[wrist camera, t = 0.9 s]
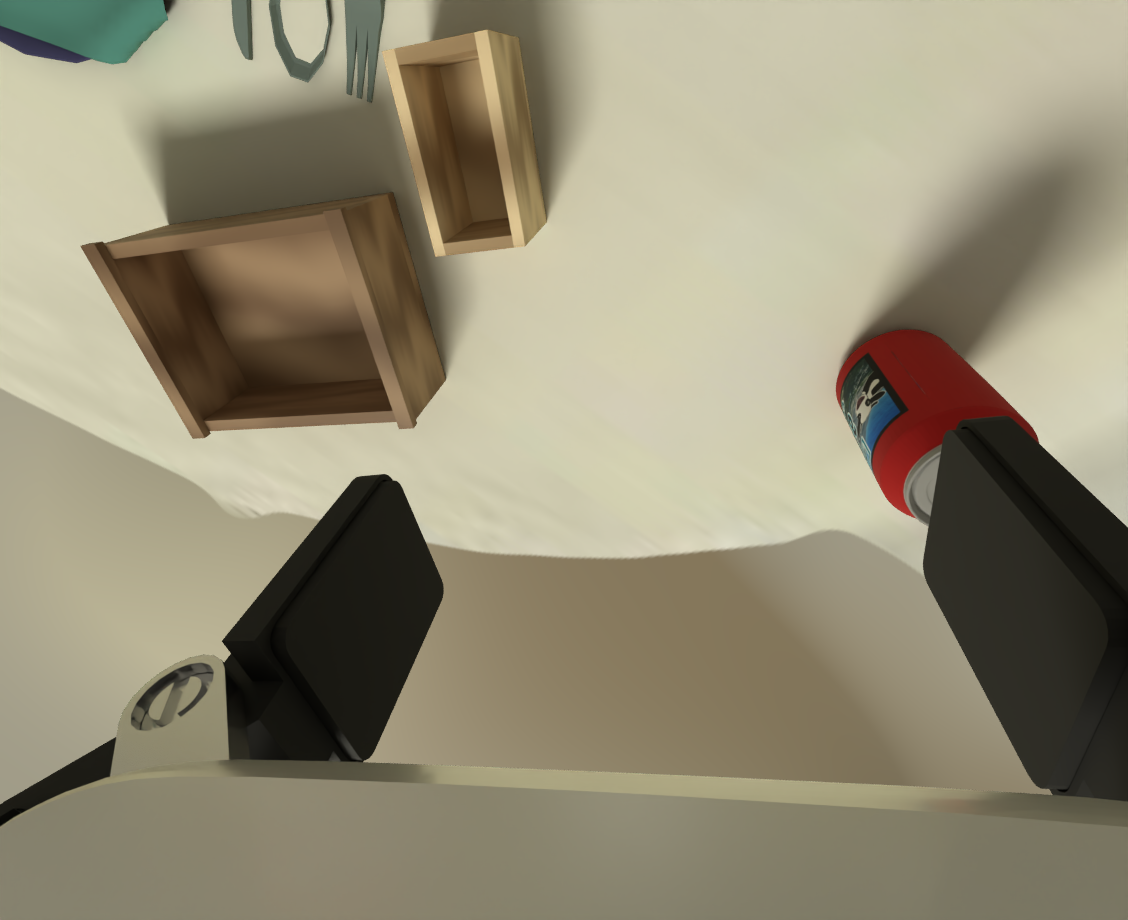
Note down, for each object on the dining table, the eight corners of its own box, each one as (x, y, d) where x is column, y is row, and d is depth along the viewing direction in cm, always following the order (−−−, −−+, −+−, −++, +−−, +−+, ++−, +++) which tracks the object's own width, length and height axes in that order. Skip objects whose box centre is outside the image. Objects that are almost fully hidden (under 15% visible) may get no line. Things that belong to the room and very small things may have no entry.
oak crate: (429, 55, 30) (382, 51, 25) (518, 37, 29) (487, 29, 24) (469, 231, 35) (435, 256, 30) (546, 221, 34) (525, 246, 29)
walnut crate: (165, 222, 38) (80, 246, 32) (393, 188, 34) (340, 208, 29) (251, 395, 45) (192, 438, 39) (447, 382, 41) (413, 428, 36)
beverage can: (814, 359, 36) (867, 465, 26) (929, 302, 33) (1037, 397, 23) (856, 437, 38) (918, 561, 28) (966, 391, 35) (1078, 510, 26)
